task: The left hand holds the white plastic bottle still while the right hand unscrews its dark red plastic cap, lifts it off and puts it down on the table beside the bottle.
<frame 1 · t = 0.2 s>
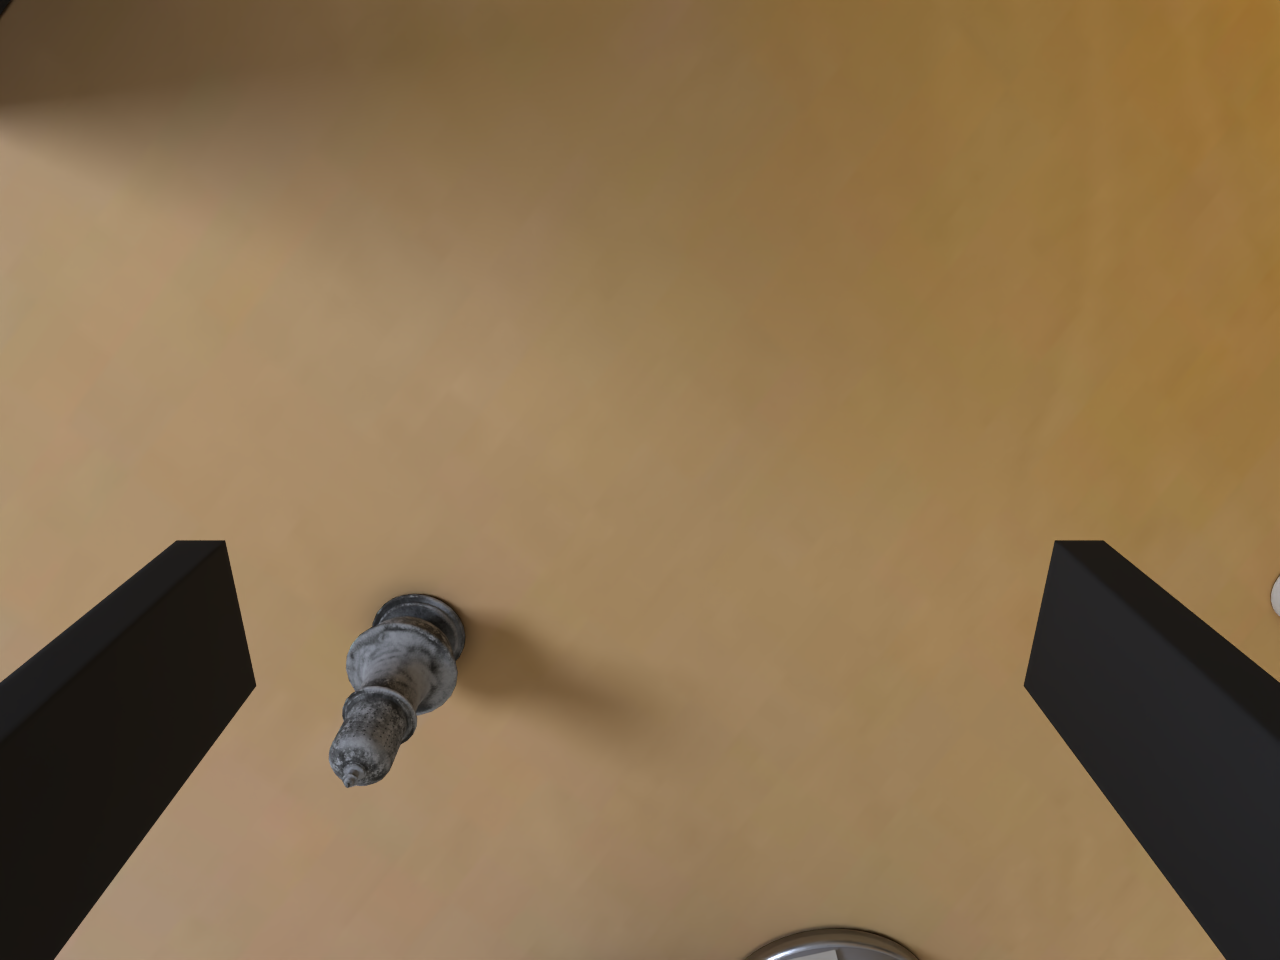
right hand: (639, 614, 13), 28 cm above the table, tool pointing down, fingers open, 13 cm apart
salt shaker: (419, 632, 46), on the table
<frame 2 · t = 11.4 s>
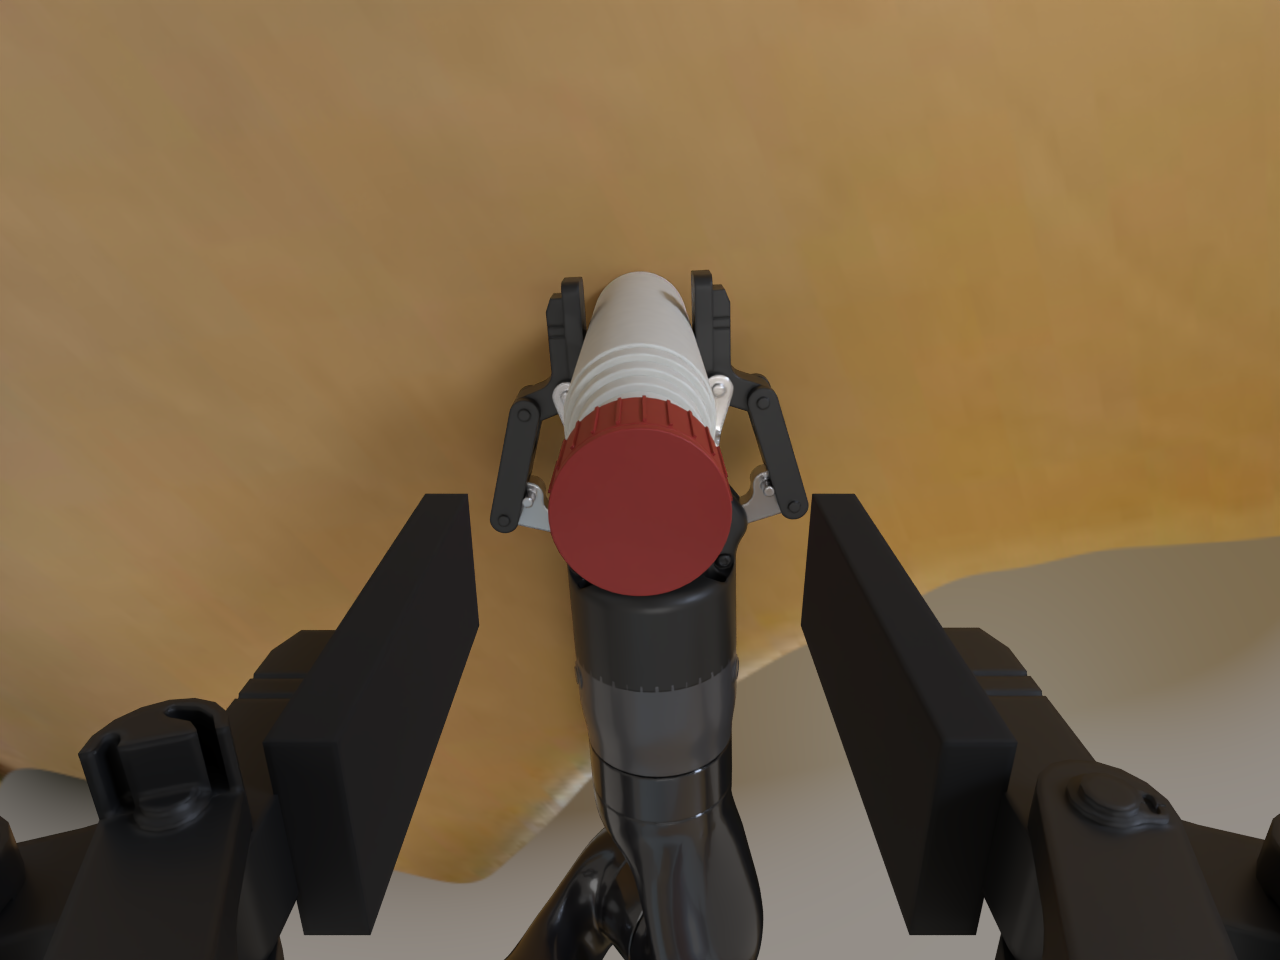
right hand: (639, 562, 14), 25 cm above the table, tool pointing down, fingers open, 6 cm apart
left hand: (637, 278, 31), fingers closed on bottle, 4 cm apart
cap: (640, 510, 17), point 23 cm above the table, screwed on, not yet turned
bottle: (640, 318, 38), on the table, touching left hand
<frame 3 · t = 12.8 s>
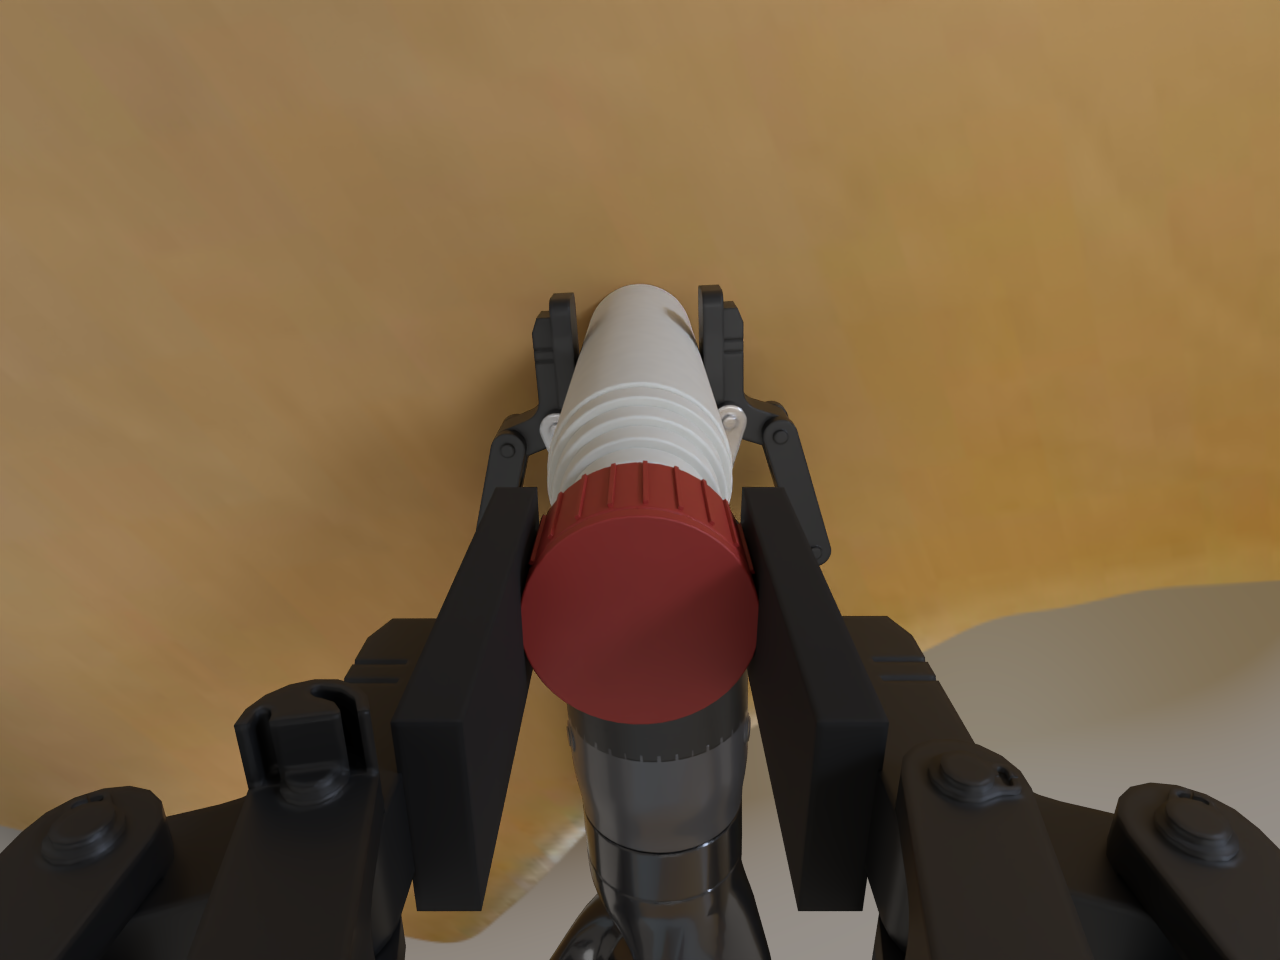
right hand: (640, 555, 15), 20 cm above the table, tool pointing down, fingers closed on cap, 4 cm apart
cap: (639, 616, 13), point 23 cm above the table, screwed on, not yet turned, touching right hand
bottle: (639, 336, 34), on the table, touching left hand
when the right hand's fingers open (1 cm above the table, at t = 32.6 s): cap drops 1 cm, point 2 cm above the table.
when the left hand's fingers open (6 cm above the table, at t = 33.8 s): bottle stays where it is, on the table.
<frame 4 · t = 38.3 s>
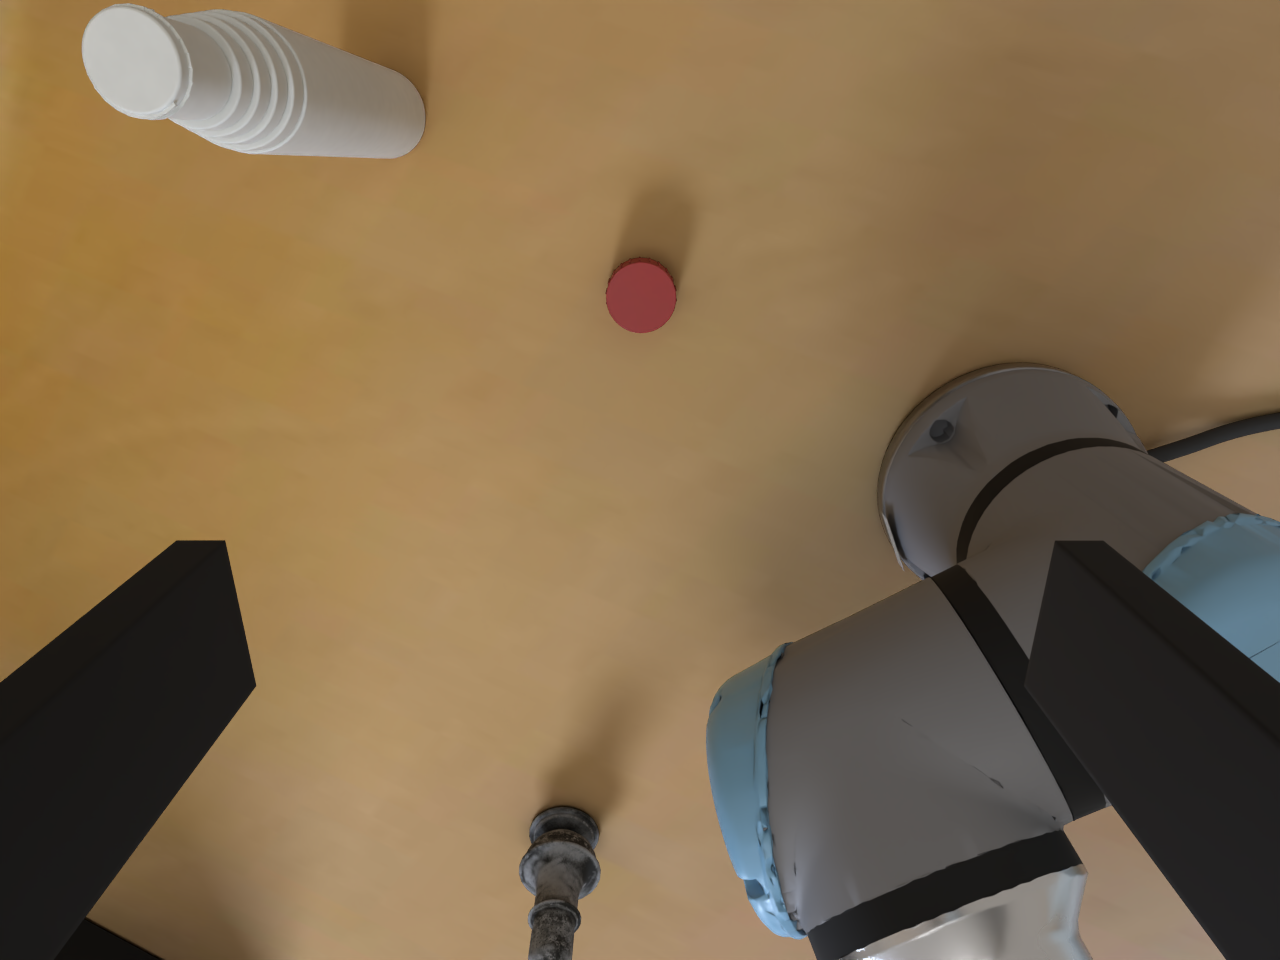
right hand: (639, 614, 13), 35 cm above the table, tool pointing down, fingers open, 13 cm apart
cap: (641, 297, 44), point 2 cm above the table, off its thread
bottle: (384, 113, 42), on the table
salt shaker: (564, 831, 60), on the table
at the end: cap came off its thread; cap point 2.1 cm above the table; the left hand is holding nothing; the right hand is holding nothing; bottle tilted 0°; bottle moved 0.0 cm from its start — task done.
